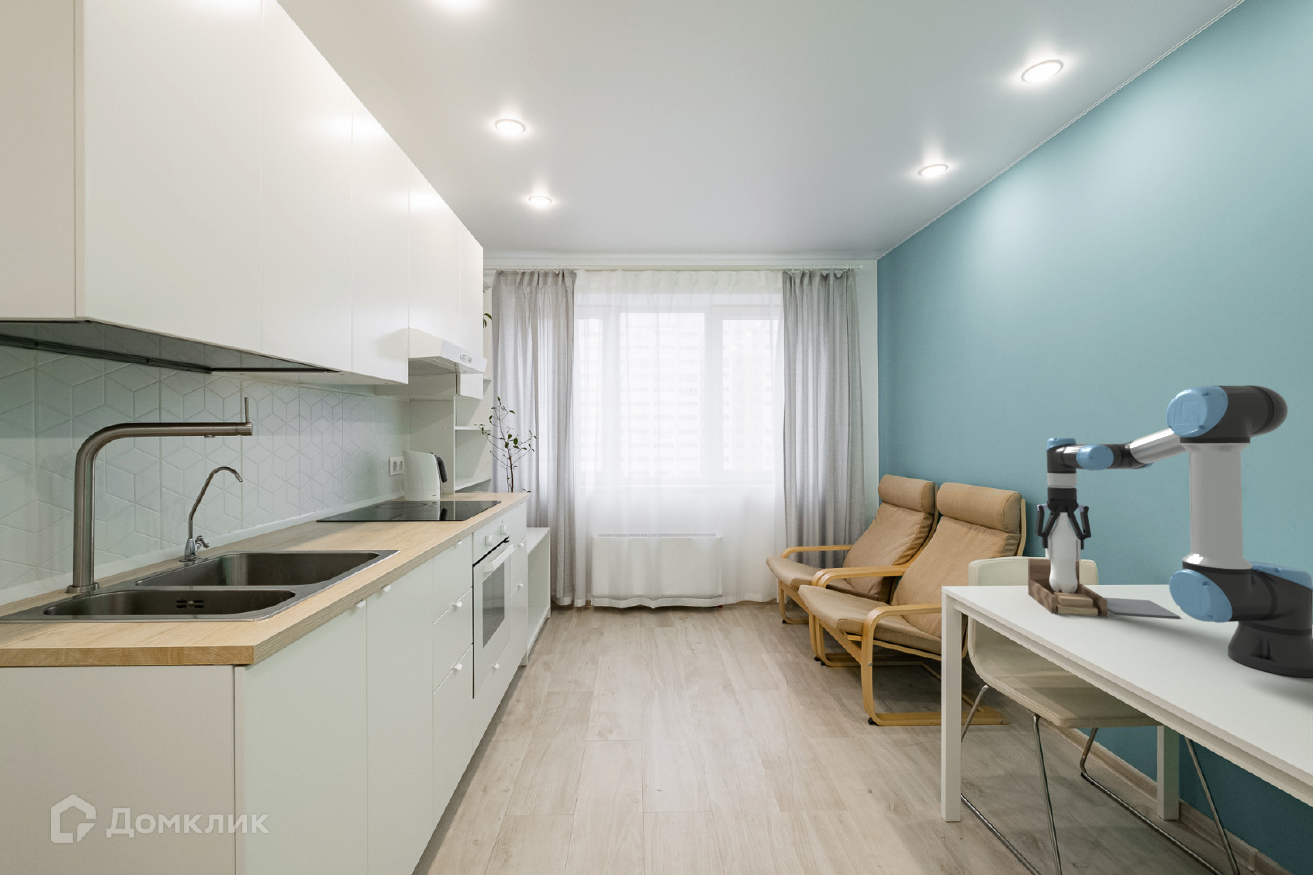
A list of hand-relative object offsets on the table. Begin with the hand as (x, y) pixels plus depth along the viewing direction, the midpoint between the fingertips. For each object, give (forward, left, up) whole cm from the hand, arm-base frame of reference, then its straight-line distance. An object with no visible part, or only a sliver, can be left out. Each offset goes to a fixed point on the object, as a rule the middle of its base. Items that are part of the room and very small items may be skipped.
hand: (1062, 559), depth 178 cm
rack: (-2, 0, -14) cm, 14 cm away
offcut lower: (-8, 0, -14) cm, 16 cm away
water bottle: (0, 0, -10) cm, 10 cm away
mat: (-1, -18, -14) cm, 23 cm away
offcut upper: (-8, 0, -12) cm, 14 cm away
